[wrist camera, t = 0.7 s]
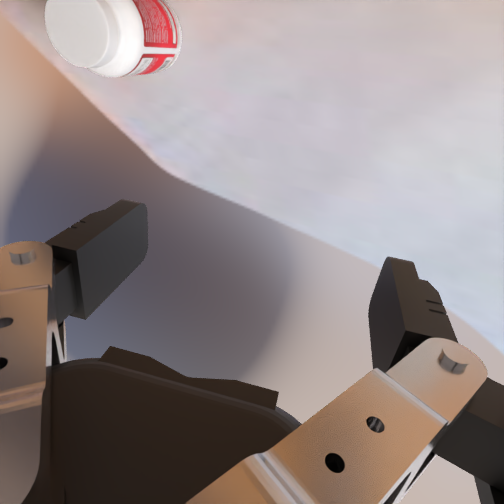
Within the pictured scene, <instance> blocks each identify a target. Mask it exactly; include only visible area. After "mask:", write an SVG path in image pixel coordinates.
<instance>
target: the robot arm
mask: <svg viewBox="0 0 504 504" xmlns="http://www.w3.org/2000/svg"><path fill="white" fill-rule="evenodd" d="M147 249H148V222H147V207H146V205H145V204H143V203H139V202H134V201H130V200H125V199H121V200H119V201H118V202H117V203H115V204H113V205H112V206H110V207H109V208H107V209H106V210H102V211H98V212H95V213H92V214H89V215H88V216H86V217H85V218H83V219H82V220H80V222H77V223H76V224H74V225H72V226H71V228H67V229H66V230H64V231H62V232H61V233H59V234H58V235H56V236H54V237H53V238H51V239H50V240H48V241H47V242H45V243H42V242H36V241H23V242H16V243H12V244H8V245H6V246H3V247H1V248H0V504H399V503H400V501H401V500H402V499H403V497H404V496H405V495H406V494H407V492H408V491H409V490H410V489H411V487H412V486H413V485H414V484H415V482H416V481H417V480H418V478H419V477H420V476H421V475H422V473H423V472H424V471H425V470H426V468H427V467H428V466H429V464H430V463H431V462H432V461H433V459H434V458H435V457H436V456H437V455H438V456H440V457H442V458H444V459H445V460H447V461H449V462H451V463H452V464H454V465H456V466H458V467H459V468H461V469H463V470H465V471H466V472H468V473H470V474H472V475H473V476H474V478H475V482H476V486H477V490H478V494H479V498H480V502H481V504H504V385H501V384H499V383H497V382H495V381H493V380H491V379H490V378H488V377H487V369H486V367H485V365H484V364H483V362H482V361H481V359H480V358H479V357H478V356H477V355H476V354H475V353H473V352H472V351H471V350H469V349H468V348H466V347H464V346H463V345H461V344H459V343H458V341H457V338H456V336H455V333H454V331H453V328H452V326H451V323H450V321H449V318H448V316H447V315H446V310H445V308H444V306H442V305H443V303H442V300H441V298H440V295H439V292H438V291H437V290H436V289H435V288H434V287H433V286H432V285H431V284H430V283H429V282H428V281H425V280H421V279H419V277H418V274H417V271H416V268H415V265H414V263H413V262H411V261H407V260H402V259H397V258H393V257H387V258H386V260H385V262H384V264H383V267H382V270H381V272H380V275H379V278H378V281H377V283H376V286H375V289H374V292H373V294H372V297H371V301H370V305H369V313H368V314H369V315H368V317H369V328H370V338H371V339H370V340H371V351H372V362H373V370H372V371H370V372H369V373H368V374H366V375H365V376H364V377H363V378H362V379H360V380H359V381H357V382H356V383H355V384H354V385H352V386H351V387H350V388H348V389H347V390H346V391H345V392H343V393H342V394H341V395H339V396H338V397H337V398H336V399H334V400H333V401H332V402H330V403H329V404H328V405H326V406H325V407H324V408H323V409H321V410H320V411H319V412H317V413H316V414H315V415H314V416H312V417H311V418H310V419H308V420H307V421H306V422H305V423H303V424H301V423H300V422H298V421H297V420H296V419H295V418H294V417H293V416H291V415H290V414H288V413H287V412H285V411H284V410H282V409H280V408H279V407H277V406H276V403H277V398H278V393H279V392H277V391H273V390H270V389H266V388H262V387H259V386H255V385H251V384H248V383H244V382H240V381H237V380H224V379H206V378H191V377H186V376H184V375H182V374H180V373H178V372H176V371H175V370H173V369H171V368H169V367H167V366H165V365H164V364H162V363H160V362H158V361H156V360H155V359H152V358H151V357H149V356H145V355H141V354H138V353H134V352H130V351H127V350H123V349H119V348H116V347H112V346H110V347H109V348H108V350H107V351H106V352H105V353H104V354H103V356H102V357H101V358H87V359H78V360H72V361H68V362H67V355H66V328H65V322H64V319H66V318H67V317H68V316H69V315H70V316H74V317H78V318H81V319H85V320H86V319H87V318H88V317H89V316H90V315H91V314H92V313H93V312H94V311H95V309H96V308H97V307H98V306H99V305H100V304H101V303H102V302H103V301H104V300H105V299H106V298H107V297H108V296H109V295H110V294H111V293H112V292H113V291H114V290H115V289H116V288H117V287H118V286H119V285H120V284H121V283H122V282H123V281H124V280H125V279H126V278H127V277H128V276H129V275H130V274H131V273H132V272H133V271H134V270H135V269H136V268H137V267H138V265H139V264H140V263H141V262H142V261H143V260H144V258H145V255H146V253H147Z"/></svg>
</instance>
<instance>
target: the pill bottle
mask: <svg viewBox="0 0 504 504" xmlns="http://www.w3.org/2000/svg"><path fill="white" fill-rule="evenodd" d="M44 18H45V26H46V31H47V34H48V36H49V39H50V41H51V43H52V45H53V47H54V48H55V50H56V51H57V52H58V53H59V55H60V56H61V57H62V58H63V59H65V60H66V61H67V62H69V63H70V64H72V65H74V66H77V67H82V68H87V69H88V70H90V71H91V72H93V73H95V74H97V75H100V76H103V77H124V76H133V75H141V74H151V73H158V72H162V71H164V70H166V69H168V68H169V67H171V66H172V65H173V63H174V62H175V61H176V59H177V58H178V55H179V53H180V50H181V45H182V32H181V26H180V23H179V20H178V18H177V16H176V14H175V12H174V11H173V9H172V8H171V7H170V6H169V4H168V3H166V2H165V1H164V0H47V2H46V6H45V14H44Z"/></svg>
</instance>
